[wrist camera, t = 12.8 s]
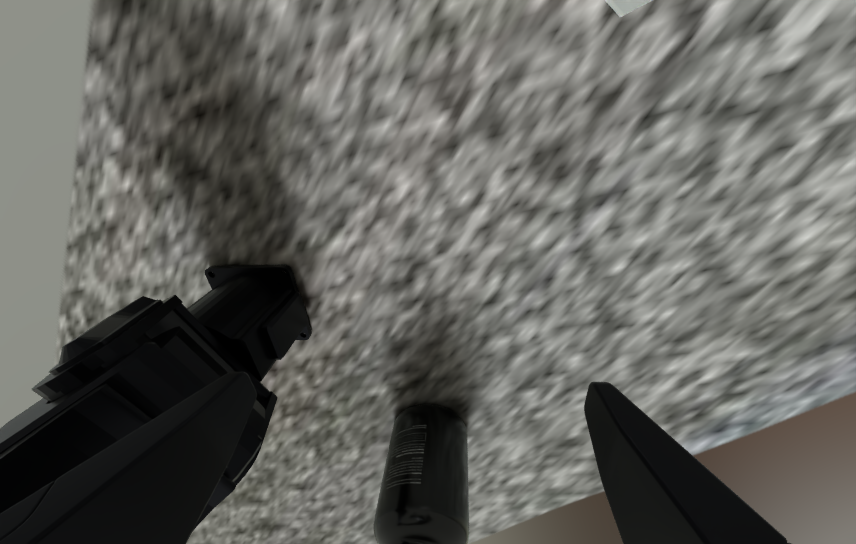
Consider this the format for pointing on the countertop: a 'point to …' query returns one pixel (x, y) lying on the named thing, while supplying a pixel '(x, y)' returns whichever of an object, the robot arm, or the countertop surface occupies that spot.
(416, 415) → the supplement bottle
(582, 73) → the countertop surface
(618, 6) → the sheet metal channel
